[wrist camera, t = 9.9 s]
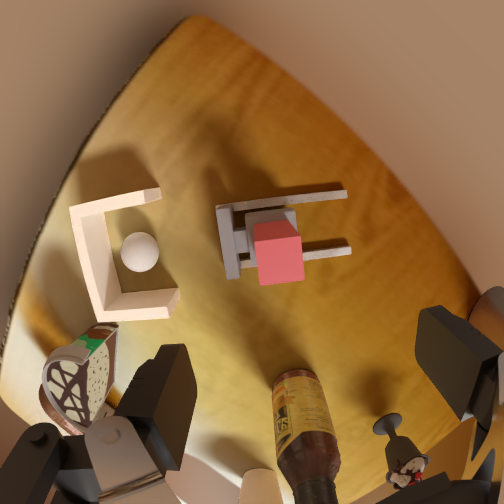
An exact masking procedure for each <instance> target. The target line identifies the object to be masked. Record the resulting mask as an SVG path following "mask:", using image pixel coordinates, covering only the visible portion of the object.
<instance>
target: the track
mask: <svg viewBox="0 0 504 504" xmlns="http://www.w3.org/2000/svg"><path fill="white" fill-rule="evenodd" d="M342 198H347V190H334V191H324V192H315V193H305V194H296V195H288V196H279V197H271V198H263V199H255V200H248V201H240V202H233V203H226V204H219V205H216V209H217V208H218V207H219V206H226V205H232V211H240V210H248V209H255V208H263V207H271V206H279V205H287V204H296V203H304V202H313V201H322V200H332V199H342ZM348 254H351V246H350V245H343V246H336V247H328V248H321V249H313V250H305V251H302V255H303V261H304V260H311V259H319V258H326V257H334V256H341V255H348ZM240 266H241V269H242V268H250V267H258V266H257V265H253V266H252V265H251V258H243V259H240Z"/></svg>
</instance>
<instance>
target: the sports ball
mask: <svg viewBox="0 0 504 504" xmlns="http://www.w3.org/2000/svg"><path fill="white" fill-rule="evenodd" d="M158 257H159V247H158V244H157V242H156V241H155V239H154V238H153V237H152V236H151V235H149V234H147V233H144V232H136V233H132V234H130V235H129V236H128V237H127V238H126V239H125V240H124V241H123V243H122V246H121V258H122V261H123V262H124V264H125V265H126V266H127V267H128V268H129V269H131V270H133V271H136V272H143V271H147V270H149V269H151V268H152V267H153V266H154V265H155V264H156V262H157V260H158Z"/></svg>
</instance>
